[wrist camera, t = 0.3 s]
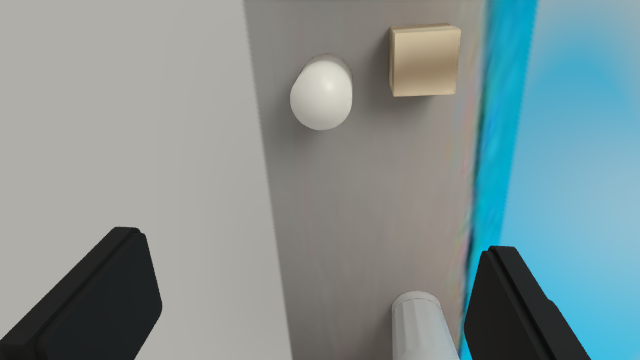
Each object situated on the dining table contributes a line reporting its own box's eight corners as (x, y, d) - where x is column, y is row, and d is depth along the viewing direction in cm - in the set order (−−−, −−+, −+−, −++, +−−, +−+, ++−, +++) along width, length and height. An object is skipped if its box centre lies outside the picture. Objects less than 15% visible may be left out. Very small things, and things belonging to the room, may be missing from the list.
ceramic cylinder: (307, 47, 35) (297, 61, 29) (359, 62, 36) (360, 79, 29) (295, 98, 38) (284, 121, 32) (344, 111, 38) (341, 137, 32)
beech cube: (390, 26, 34) (394, 33, 30) (447, 23, 34) (461, 29, 29) (389, 82, 36) (393, 96, 32) (442, 80, 36) (454, 93, 31)
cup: (458, 316, 49) (486, 407, 39) (405, 338, 52) (417, 429, 42) (427, 276, 47) (448, 363, 36) (373, 301, 50) (378, 389, 39)
